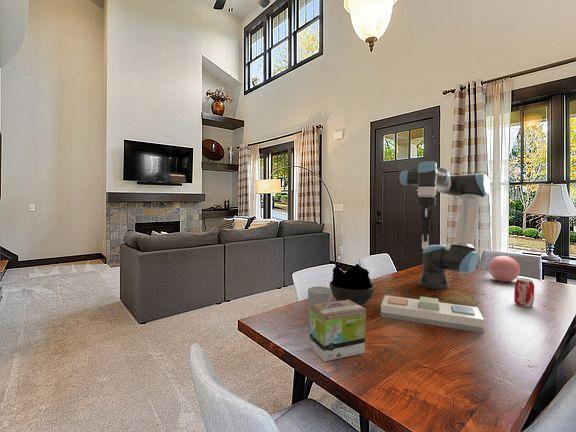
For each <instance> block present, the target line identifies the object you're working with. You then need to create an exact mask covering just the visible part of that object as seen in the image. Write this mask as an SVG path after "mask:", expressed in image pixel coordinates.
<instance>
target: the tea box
mask: <svg viewBox="0 0 576 432" xmlns="http://www.w3.org/2000/svg"><path fill="white" fill-rule="evenodd" d="M366 321H367V308H365V307H363V305H361V306H360V305H358V304H356V303H354V302H352V301H351V300H342V301H337V300H336V301H331V302H327V303H320V304H312V305H311V315H310V322H309V349H311V351H312V352H313V353H314V354H315V355H316V356H317V357H319V359H320V360H321V361H322V362H323V363H326V362H330V361H333V360H337V359H343V358H347V357H352V356H357V355H362V354H363V355H364V354H365V352H366V351H365V350H366V325H367V324H366V323H367V322H366Z"/></svg>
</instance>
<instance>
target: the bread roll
mask: <svg viewBox="0 0 576 432" xmlns="http://www.w3.org/2000/svg"><path fill="white" fill-rule="evenodd" d="M439 302H441V303H449V304H457V305H465V306H472V307H477V304H476V300H475V299H474V297H473V296H472V295H471V294H470V293H469V292H467V291H463V290H458V289H451V290H448V291H446V292H444V293H442V294H441V295H440V298H439Z"/></svg>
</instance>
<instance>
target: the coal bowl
mask: <svg viewBox="0 0 576 432" xmlns="http://www.w3.org/2000/svg"><path fill="white" fill-rule="evenodd" d="M351 267H352V268H350V269H348V270H347V271H343V270H342V269H341V267H340V264H339V263H336V265H335V267H333V269H332V280H331V281H330V282H329V289H331V290H332V296H333V297H334V299H335V300H336V301H342V300H351V301H352V302H354V303H356V304H358V305H360V306H363V305H365V304H366V303H368V302H369V301H370V300H371V298H372V296H373V295H374V291H375V286H376V285H375V284H374V283H373V282H371V280H372V279H371V278H370V277H369V275H370V272H369V270H368V269H366V268H364V267H362V266H361V265H360V264H359V263H357V264H356V263H355V265H354V266H351Z"/></svg>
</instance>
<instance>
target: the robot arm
mask: <svg viewBox="0 0 576 432" xmlns="http://www.w3.org/2000/svg"><path fill="white" fill-rule="evenodd" d="M437 165H438V164H437V162H436V161H433V160H432V161H430V160H429V161H422V162H421V161H420V162H419V164H418V168H417V169H410V170H409V169H408V170H402V171H401V172H400V175H399V182H400V184H401V185H402V186H414V187H417V189H416V192H417V196H418V197H417V200H416V201H417V205H418V206H423V209H421V220H422V231H421V232H420V235H421V249H423V250H422V272H421V274H420V277H419V280H418V285H419V286H421V287H424V288H427V289H434V290H447V289H448V288H449V287H450V286H449V284H450V282H449V280H448V276H447V273H446V270H447V271H452V272H458V273H461V274H463V273H464V274H471V273H473V272H474V271H475V270H476V268H477V266H478V264H479V259H480V258H479V253H478V252H477V251H476V247H475V246H474V241H475V240H474V238H475V234H476V228H477V227H476V226H477V222H478V221H477V220H478V216H479V210H480V205H481V202H482V201H484V200H485V196H486V197H487V196H488V195H490V192H491V184H490V179H489V177H488V175H486V174H485V173H471V174H454V175H451V172H450V171H449V170H448V169H446V168H445V167H444V168H443V167H438V166H437ZM437 192H438V193H441V194H446V195H450V196H458V197H459V199H460V200H461V202H460V203H461V204H460V206H459V207H460V208H459V213H458V219H457V225H456V229H455V230H456V231H455V237H454V241H453V243H451V244H450V246H449V247H447V245H446V244H431V245H429V244H430V243H429V240H430V239H429V237H430V235H431V232H430V228H429V227H430V220H431V214H432V209H430V206H436V203H437V198H436V196H437Z"/></svg>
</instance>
